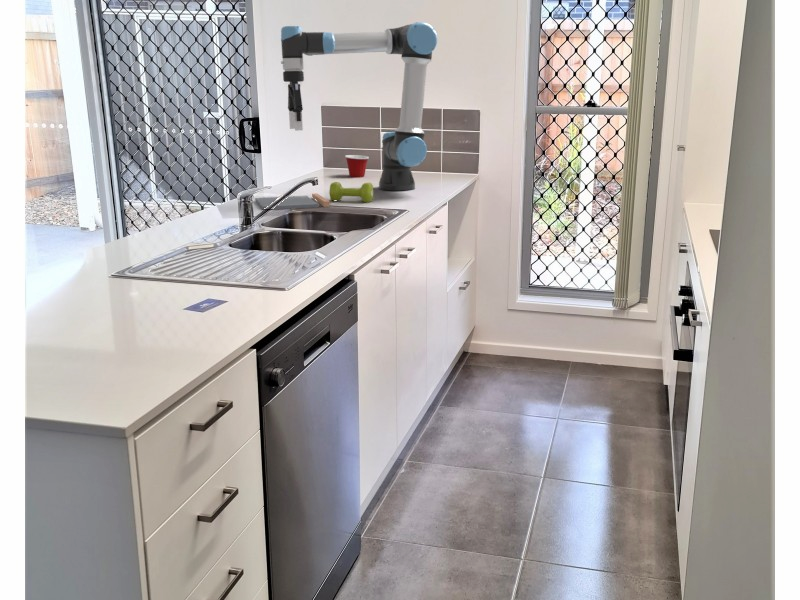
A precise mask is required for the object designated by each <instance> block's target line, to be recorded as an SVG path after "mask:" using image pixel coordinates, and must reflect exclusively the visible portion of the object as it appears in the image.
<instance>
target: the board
mask: <svg viewBox="0 0 800 600" xmlns="http://www.w3.org/2000/svg"><path fill="white" fill-rule="evenodd" d="M278 197H279V196H272V197H271V196H270V197H255V198H254V199H255V200H254V201H255V203H256V204H257V205H258V206H259V207H260V208H261V210H263V209H264V208H266V207H267V206H269V205H270V204H271V203H272V202H274V201H275V200H276V199H277V198H278ZM287 197H288V198H287V199H285V200H284V201H283V202H281V203H280V204H279V205H277V206H276V207H275V208H274V209H273V210H288V209H289V210H290V209H291V210H292V209H293V210H294V209H310V208H311V209H312V208H319V206H320V204H319V203H318V202H316V201H315V200H314V199H313V198H310V197H309V196H308V195H298V196H297V195H294V196H287Z"/></svg>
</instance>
